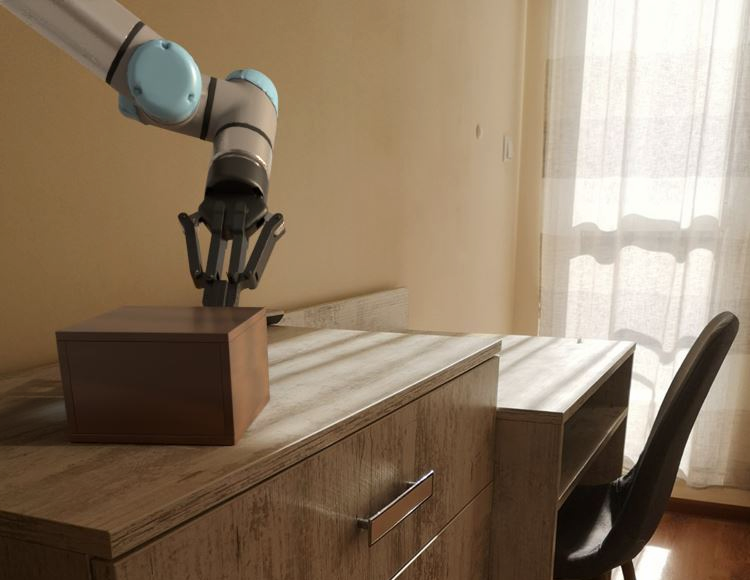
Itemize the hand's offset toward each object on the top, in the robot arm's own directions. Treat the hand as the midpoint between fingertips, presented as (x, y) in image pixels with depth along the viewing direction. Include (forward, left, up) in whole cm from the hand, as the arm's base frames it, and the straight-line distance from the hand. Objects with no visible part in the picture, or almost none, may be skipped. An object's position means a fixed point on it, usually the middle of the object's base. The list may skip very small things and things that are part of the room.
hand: (215, 334), depth 92 cm
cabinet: (+15, -5, -6) cm, 17 cm away
